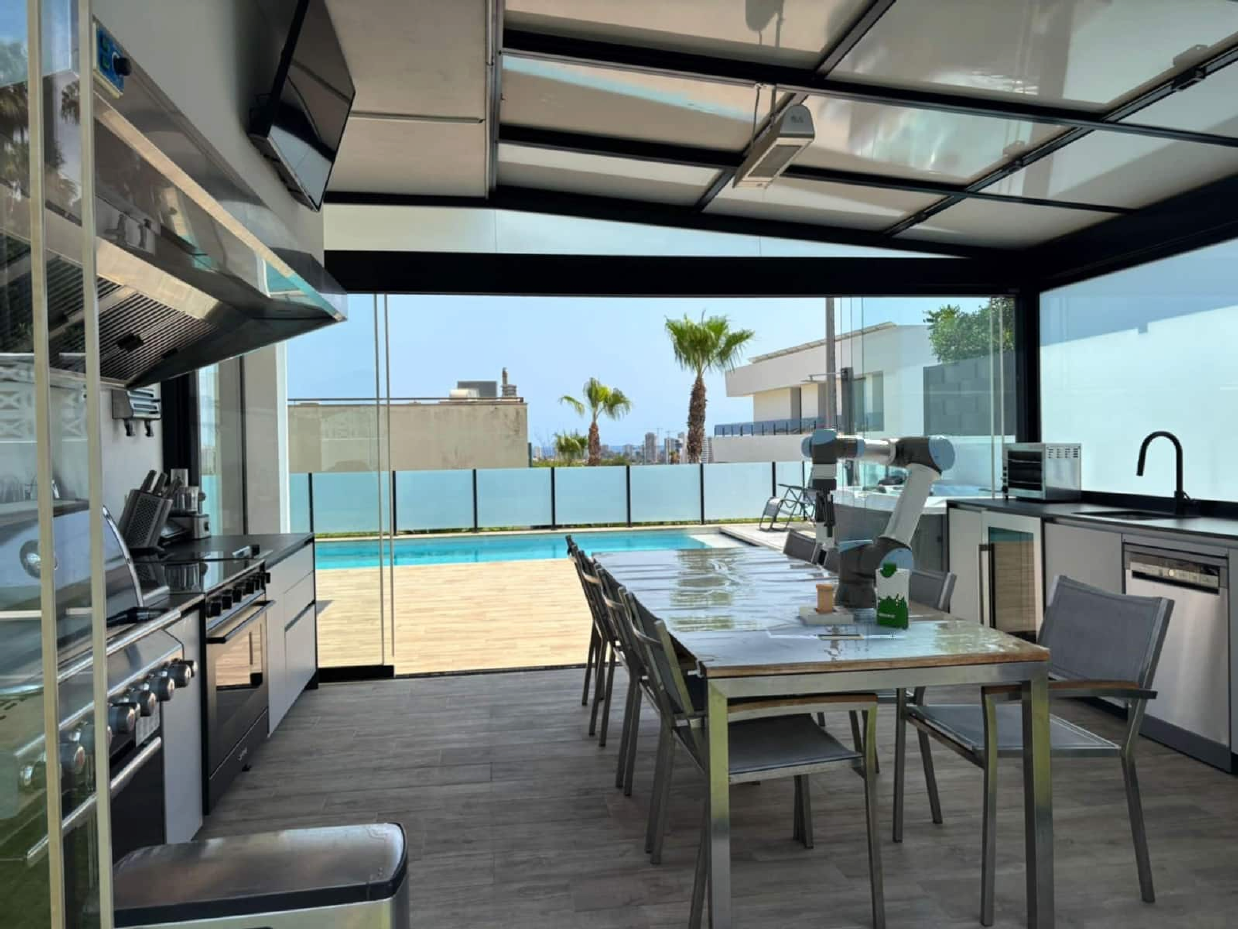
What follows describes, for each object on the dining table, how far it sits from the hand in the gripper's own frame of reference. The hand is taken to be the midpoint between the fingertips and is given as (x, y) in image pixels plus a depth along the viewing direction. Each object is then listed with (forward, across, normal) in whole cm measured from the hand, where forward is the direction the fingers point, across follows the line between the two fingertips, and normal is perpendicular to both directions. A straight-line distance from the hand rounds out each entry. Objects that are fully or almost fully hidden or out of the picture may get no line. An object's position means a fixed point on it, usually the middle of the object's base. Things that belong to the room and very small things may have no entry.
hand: (824, 545), depth 263 cm
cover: (+24, 0, 0) cm, 24 cm away
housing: (+25, 0, 0) cm, 25 cm away
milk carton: (+25, +7, +19) cm, 32 cm away
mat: (+25, +17, 0) cm, 30 cm away
